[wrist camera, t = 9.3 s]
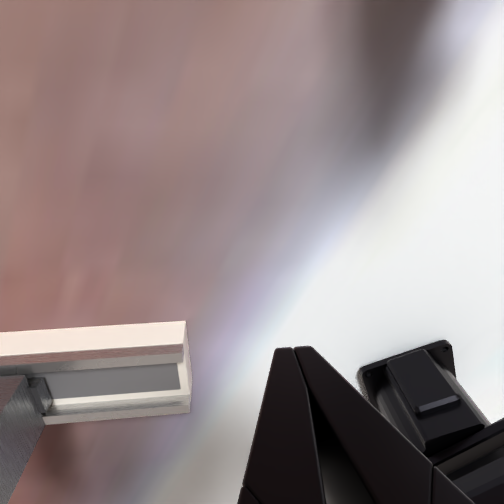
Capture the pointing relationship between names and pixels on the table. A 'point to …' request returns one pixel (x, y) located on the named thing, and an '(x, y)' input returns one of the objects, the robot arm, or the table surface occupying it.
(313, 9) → the table surface
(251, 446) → the robot arm
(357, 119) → the table surface
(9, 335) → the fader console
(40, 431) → the fader tab
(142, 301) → the table surface
